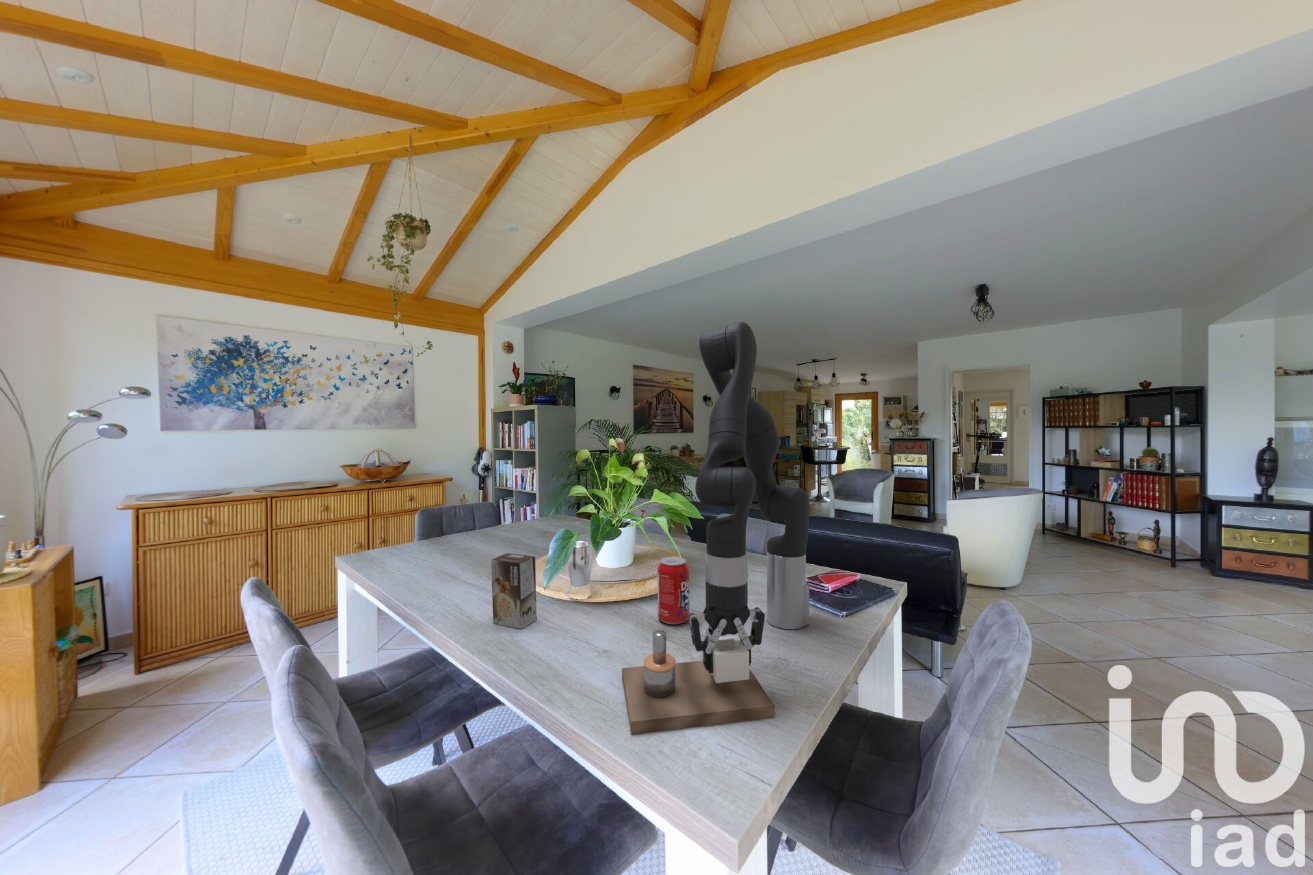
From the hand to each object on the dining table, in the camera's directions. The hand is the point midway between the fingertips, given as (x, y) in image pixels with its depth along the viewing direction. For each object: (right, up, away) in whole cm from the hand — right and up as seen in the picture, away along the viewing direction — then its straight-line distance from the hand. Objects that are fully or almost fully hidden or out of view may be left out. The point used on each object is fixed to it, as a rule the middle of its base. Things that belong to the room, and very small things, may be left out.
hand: (727, 668), depth 83 cm
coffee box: (-48, -4, +31) cm, 57 cm away
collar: (0, -1, 0) cm, 1 cm away
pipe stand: (-6, -5, -1) cm, 8 cm away
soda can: (-9, -4, +31) cm, 33 cm away
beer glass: (-34, -3, +47) cm, 59 cm away
